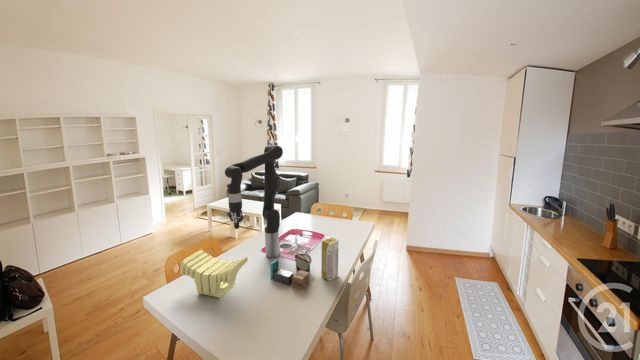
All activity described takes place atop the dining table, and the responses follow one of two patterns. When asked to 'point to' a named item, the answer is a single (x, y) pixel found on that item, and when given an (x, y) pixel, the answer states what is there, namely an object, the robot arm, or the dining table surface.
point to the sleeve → (283, 276)
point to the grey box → (274, 267)
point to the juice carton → (329, 258)
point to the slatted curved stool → (211, 273)
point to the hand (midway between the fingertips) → (236, 228)
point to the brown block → (301, 280)
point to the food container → (303, 262)
